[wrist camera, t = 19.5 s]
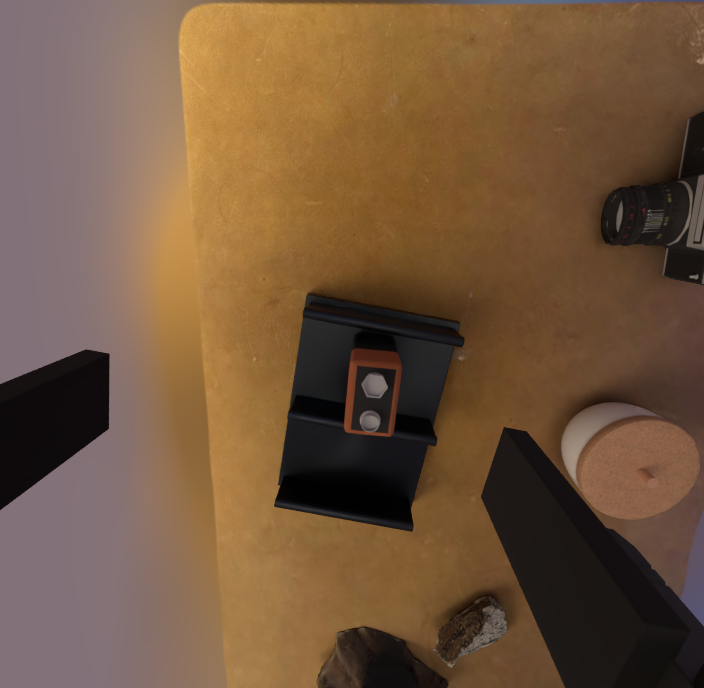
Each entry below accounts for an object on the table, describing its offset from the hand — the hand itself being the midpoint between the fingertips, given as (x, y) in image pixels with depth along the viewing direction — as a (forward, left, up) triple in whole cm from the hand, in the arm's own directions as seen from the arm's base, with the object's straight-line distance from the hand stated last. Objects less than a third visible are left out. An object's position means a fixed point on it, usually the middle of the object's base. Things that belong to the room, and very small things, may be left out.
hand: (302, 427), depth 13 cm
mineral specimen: (+14, -51, -29) cm, 60 cm away
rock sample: (+24, -38, -29) cm, 54 cm away
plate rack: (+4, -12, -28) cm, 31 cm away
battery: (+4, -7, -27) cm, 28 cm away
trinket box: (+30, -10, -29) cm, 43 cm away
